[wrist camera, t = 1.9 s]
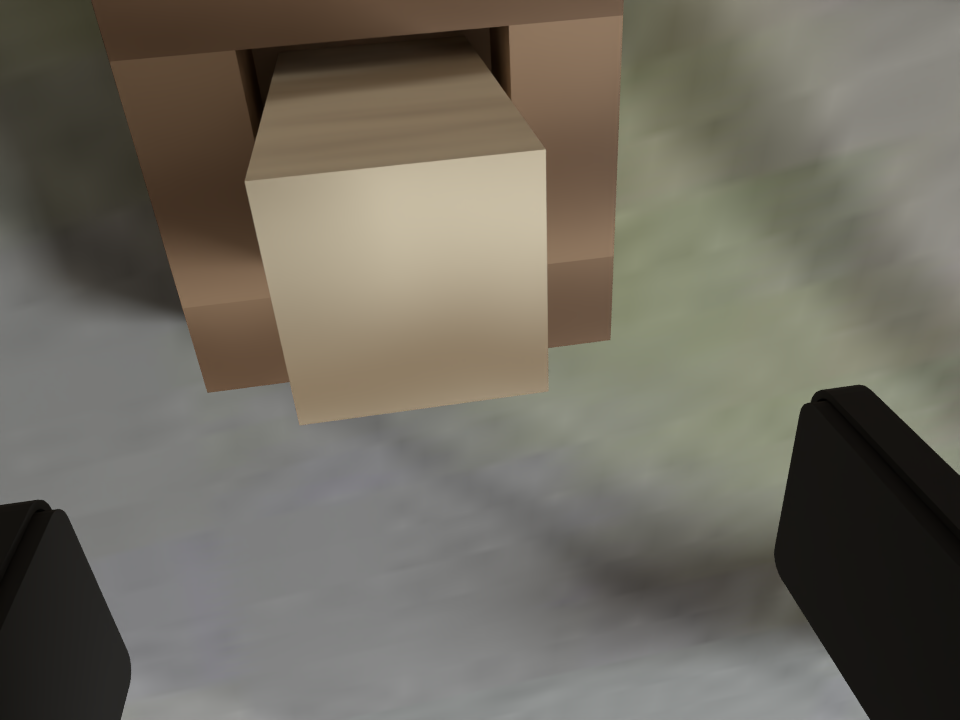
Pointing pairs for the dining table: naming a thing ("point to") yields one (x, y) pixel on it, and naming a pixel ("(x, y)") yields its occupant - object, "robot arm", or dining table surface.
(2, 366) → the dining table surface
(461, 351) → the birch peg
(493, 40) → the walnut holder
